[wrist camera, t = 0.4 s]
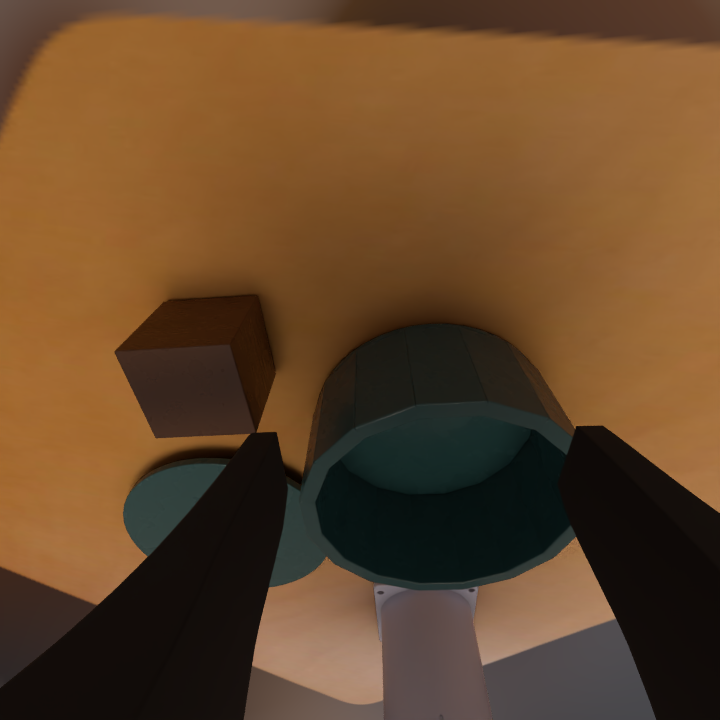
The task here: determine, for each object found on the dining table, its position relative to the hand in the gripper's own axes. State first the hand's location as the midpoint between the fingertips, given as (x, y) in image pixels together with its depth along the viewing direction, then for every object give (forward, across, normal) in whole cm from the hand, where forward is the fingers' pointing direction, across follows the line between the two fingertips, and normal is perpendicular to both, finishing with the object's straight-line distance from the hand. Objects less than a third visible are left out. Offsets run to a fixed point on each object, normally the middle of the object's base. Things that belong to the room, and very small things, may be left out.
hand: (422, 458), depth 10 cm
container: (+10, -2, +8) cm, 13 cm away
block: (+10, +8, +2) cm, 13 cm away
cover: (+9, +11, +16) cm, 22 cm away
